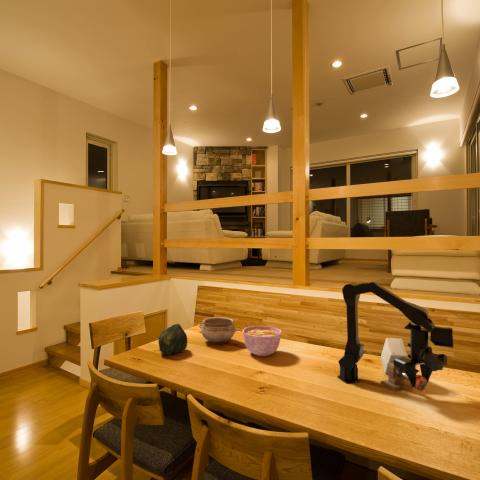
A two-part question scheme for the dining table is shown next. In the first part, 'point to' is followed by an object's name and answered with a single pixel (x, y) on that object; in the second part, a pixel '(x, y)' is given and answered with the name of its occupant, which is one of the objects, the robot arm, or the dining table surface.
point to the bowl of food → (262, 339)
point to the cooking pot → (218, 329)
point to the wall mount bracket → (395, 378)
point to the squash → (172, 340)
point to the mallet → (420, 380)
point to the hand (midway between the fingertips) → (419, 385)
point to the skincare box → (392, 351)
